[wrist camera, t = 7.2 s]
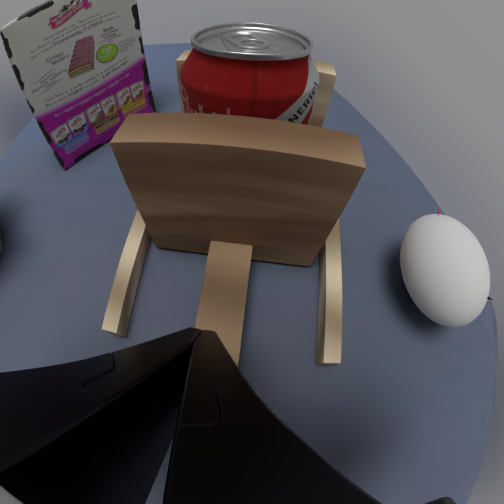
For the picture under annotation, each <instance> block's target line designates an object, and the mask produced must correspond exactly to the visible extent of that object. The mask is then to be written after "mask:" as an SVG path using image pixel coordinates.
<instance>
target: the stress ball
mask: <svg viewBox="0 0 504 504" xmlns="http://www.w3.org/2000/svg"><path fill="white" fill-rule="evenodd" d="M400 266H401V272H402V276H403V280H404V283H405V286H406V288H407V290H408V292H409V294H410V296H411V298H412V300H413V301H414V303H415V304H416V305H417V307H418V308H419V309H420V310H421V311H422V312H423V313H424V314H425V315H426V316H427V317H428V318H430V319H431V320H432V321H434V322H436V323H438V324H440V325H443V326H447V327H460V326H464V325H467V324H468V323H470V322H472V321H473V320H474V319H476V318H477V317H478V315H479V314H480V313H481V312H482V310H483V308H484V306H485V304H486V302H487V299H491V298H489V297H488V295H489V289H490V272H489V266H488V262H487V259H486V256H485V253H484V251H483V249H482V247H481V245H480V243H479V242H478V240H477V239H476V237H475V236H474V235H473V234H472V232H471V231H470V230H469V229H468V228H467V227H465V226H464V225H463V224H462V223H460V222H459V221H457V220H455V219H453V218H451V217H449V216H446V215H441V214H439V209H438V214H430V215H425V216H422V217H420V218H418V219H417V220H416V221H414V222H413V223H412V224H411V225H410V226H409V228H408V229H407V231H406V233H405V235H404V237H403V240H402V244H401V249H400ZM491 300H492V299H491Z"/></svg>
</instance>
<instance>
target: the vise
mask: <svg viewBox="0 0 504 504" xmlns="http://www.w3.org/2000/svg"><path fill="white" fill-rule="evenodd" d="M191 51H192V50H185V51H184V52H183V53H182V54H181V55H180V57H179V58H178V59H177V60H176V65H177V75H178V84H179V93H180V101H181V109H182V113H184V107H183V99H182V90H181V81H180V69H181V67H182V65H183V63H184V62H185V60H186V58H187V57H188V55H189V54H190V52H191ZM313 62H314V64H315V66H316V68H317V71H318V73H319V77H320V81H319V86H318V90H317V94H316V98H315V102H314V106H313V110H312V114H311V118H310V122H309V125H311V126H316V127H321V128H322V124H323V121H324V118H325V114H326V111H327V108H328V104H329V101H330V97H331V94H332V91H333V87H334V84H335V80H336V76H337V75H336V72H335V70H334V67H333V65H332V64H329V63H324V62H320V61H314V60H313ZM150 240H151V235H150V233H149V231H148V229H147V227H146V225H145V223H144V221H143V219H142V217H141V214H140V212H139V210H137V212H136V215H135V218H134V220H133V223H132V226H131V229H130V232H129V234H128V237H127V240H126V243H125V246H124V249H123V252H122V256H121V259H120V262H119V265H118V268H117V272H116V275H115V279H114V282H113V286H112V289H111V293H110V297H109V301H108V305H107V309H106V313H105V317H104V321H103V326H102V329H103V330H105V331H107V332H109V333H111V334H114V335H118V336H122V337H126V335H127V330H128V325H129V321H130V316H131V312H132V307H133V303H134V299H135V295H136V291H137V287H138V283H139V279H140V275H141V272H142V268H143V264H144V261H145V257H146V254H147V250H148V247H149V244H150ZM341 344H342V269H341V245H340V229H339V218H338V220H337V222H336V224H335V225H334V227H333V229H332V231H331V232H330V234H329V236H328V237H327V239H326V241H325V243H324V244H323V246H322V248H321V249H320V251H319V309H318V334H317V353H316V365H334V364H339V363H341Z"/></svg>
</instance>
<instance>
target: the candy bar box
mask: <svg viewBox="0 0 504 504" xmlns="http://www.w3.org/2000/svg"><path fill="white" fill-rule="evenodd" d="M0 34H1V37H2V40H3V43H4V46H5V50H6V52H7V55H8V58H9V60H10V63H11V65H12V68H13V70H14V73H15V75H16V78H17V80H18V83H19V85H20V87H21V89H22V91H23V94H24V96H25V98H26V100H27V103H28V105H29V107H30V109H31V111H32V113H33V115H34V117H35V119H36V121H37V123H38V125H39V127H40V129H41V131H42V133H43V134H44V136H45V138H46V140H47V142H48V144H49V145H50V147H51V149H52V151H53V153H54V154H55V156H56V158H57V160H58V162H59V163H60V165H61V166H62V168H63V169H64V170H66V169H68V168H69V167H70V166H72V165H73V164H75V163H76V162H77V161H79V160H80V159H82V158H83V157H85V156H86V155H88V154H89V153H91V152H92V151H94V150H95V149H97V148H98V147H100V146H101V145H103V144H104V143H106V142H108V141H109V140H111V139H112V138H113V137H114V135H115V134H116V132H117V131H118V129H119V128H120V126H121V125H122V123H123V122H124V120H125V119H126V117H127V116H128V115H129V114H138V113H156V110H155V105H154V100H153V95H152V91H151V85H150V81H149V76H148V70H147V65H146V59H145V54H144V49H143V44H142V35H141V29H140V22H139V15H138V8H137V1H136V0H48V1H46V2H44V3H42V4H40V5H39V6H37V7H35V8H33V9H31V10H29V11H28V12H26V13H24V14H23V15H21V16H19V17H18V18H16V19H15V20H13V21H11V22H10V23H8V24H7V25H5V26H4V27H3V28H2V29H1V30H0Z"/></svg>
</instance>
